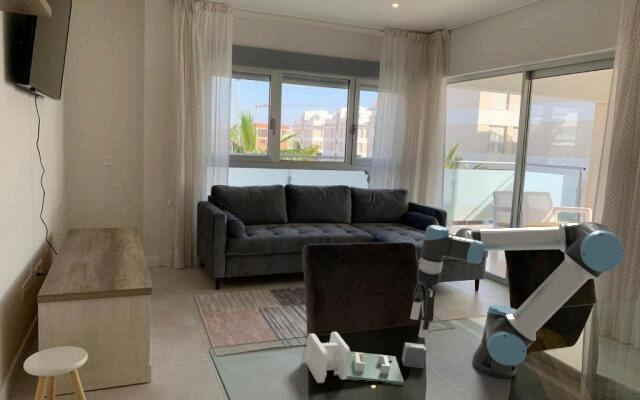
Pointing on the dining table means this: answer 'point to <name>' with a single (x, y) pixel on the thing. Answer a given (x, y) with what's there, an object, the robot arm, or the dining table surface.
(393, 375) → the board
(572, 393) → the dining table surface
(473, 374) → the dining table surface
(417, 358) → the plug
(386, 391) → the dining table surface
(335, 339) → the cable organizer
